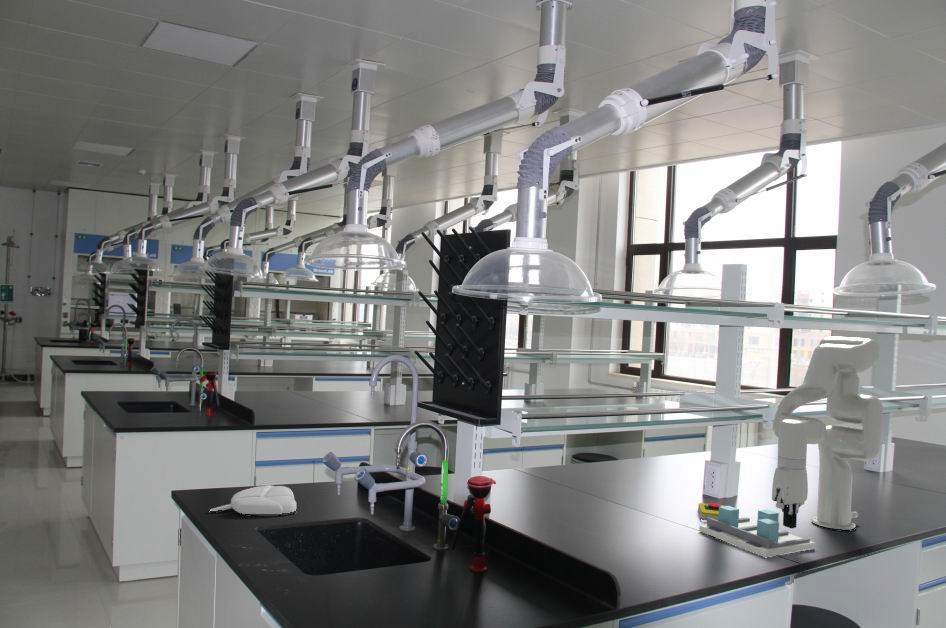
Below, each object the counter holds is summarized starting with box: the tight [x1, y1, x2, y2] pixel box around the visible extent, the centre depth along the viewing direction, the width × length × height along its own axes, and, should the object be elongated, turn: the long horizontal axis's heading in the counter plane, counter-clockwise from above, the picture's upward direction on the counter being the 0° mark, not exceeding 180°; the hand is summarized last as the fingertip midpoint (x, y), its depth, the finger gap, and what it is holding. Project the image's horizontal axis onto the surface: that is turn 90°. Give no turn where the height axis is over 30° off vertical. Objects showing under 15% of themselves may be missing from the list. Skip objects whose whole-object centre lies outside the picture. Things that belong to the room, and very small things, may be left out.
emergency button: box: [697, 502, 724, 520], centre depth 232 cm, size 9×4×15 cm
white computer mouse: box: [209, 484, 297, 515], centre depth 217 cm, size 7×17×25 cm
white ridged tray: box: [698, 517, 816, 558], centre depth 209 cm, size 20×24×4 cm
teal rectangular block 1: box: [718, 505, 740, 528], centre depth 214 cm, size 4×4×6 cm
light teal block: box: [757, 508, 780, 522], centre depth 211 cm, size 4×4×6 cm
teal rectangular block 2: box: [756, 519, 780, 544], centre depth 201 cm, size 4×4×6 cm
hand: (789, 526), depth 206 cm, fingers closed
